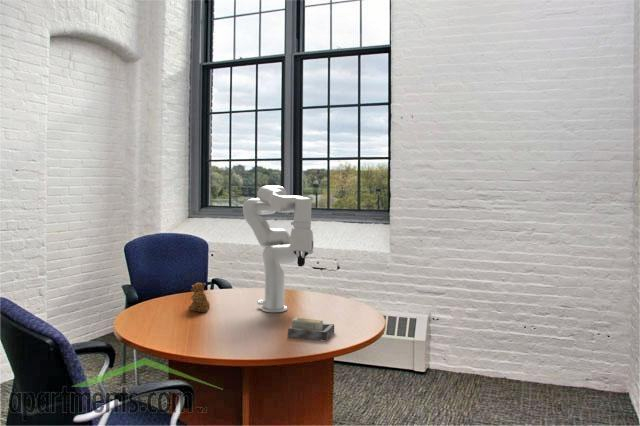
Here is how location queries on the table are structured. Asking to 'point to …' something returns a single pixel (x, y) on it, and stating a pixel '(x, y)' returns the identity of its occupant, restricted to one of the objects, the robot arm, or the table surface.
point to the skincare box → (307, 324)
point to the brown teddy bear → (199, 299)
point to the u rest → (312, 332)
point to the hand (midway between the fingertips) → (301, 265)
